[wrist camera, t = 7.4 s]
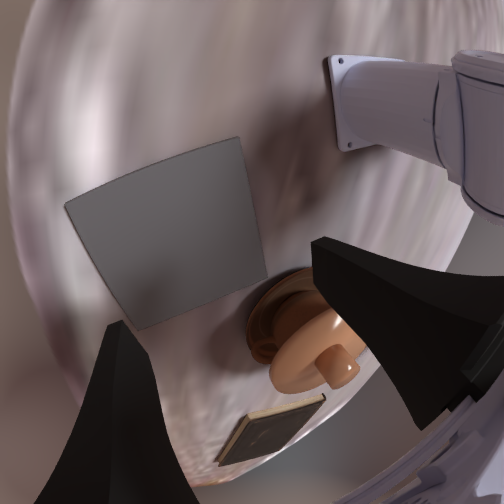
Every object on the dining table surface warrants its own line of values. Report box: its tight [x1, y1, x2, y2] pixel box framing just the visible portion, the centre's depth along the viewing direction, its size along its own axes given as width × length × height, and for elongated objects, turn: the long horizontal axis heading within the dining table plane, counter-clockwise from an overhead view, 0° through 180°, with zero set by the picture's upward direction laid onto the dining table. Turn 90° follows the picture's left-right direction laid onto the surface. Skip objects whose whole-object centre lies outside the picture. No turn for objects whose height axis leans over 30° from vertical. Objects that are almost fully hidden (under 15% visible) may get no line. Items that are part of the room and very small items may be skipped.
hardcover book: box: [218, 393, 326, 467], centre depth 45 cm, size 16×23×2 cm
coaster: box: [65, 137, 268, 331], centre depth 19 cm, size 12×12×1 cm
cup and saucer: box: [246, 267, 332, 364], centre depth 26 cm, size 12×12×6 cm
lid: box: [269, 308, 366, 394], centre depth 22 cm, size 11×11×4 cm
